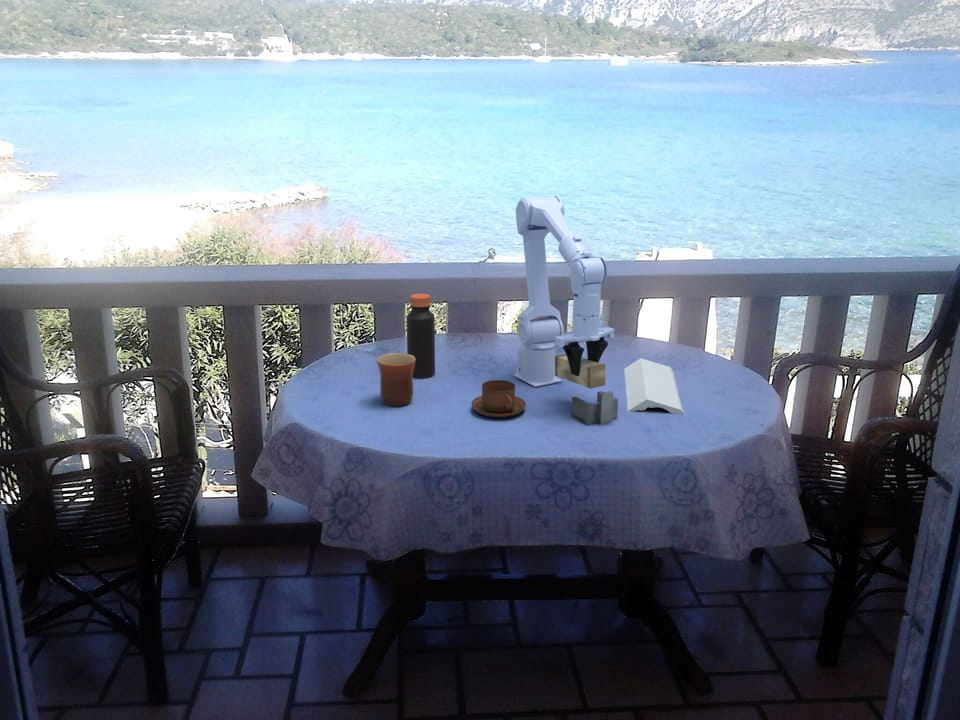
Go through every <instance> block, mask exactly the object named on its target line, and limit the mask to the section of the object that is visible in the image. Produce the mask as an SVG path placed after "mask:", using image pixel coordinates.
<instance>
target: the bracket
mask: <svg viewBox="0 0 960 720" xmlns="http://www.w3.org/2000/svg"><path fill="white" fill-rule="evenodd" d="M618 408H619V399H618V398H617V397H614V392H613V391H610V390H608V391H603V390H599V391H597V395H596V402H591V403H589V402H587V401H586V400H583V399H581V398H579V397H578V396H572V397H571V410H570V417H572V418H574V419H576V420H577V421H578V422H579V421H580V422H581V423H583V424H585V425H587V426H591V425H595V424H598V425H600V426H601V425H605V424H606V425H607V424H609V423H612V421H613V420H616V419H618V411H619V409H618Z"/></svg>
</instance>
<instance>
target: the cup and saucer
mask: <svg viewBox="0 0 960 720" xmlns="http://www.w3.org/2000/svg"><path fill="white" fill-rule="evenodd" d="M481 392H482V393H481V395H480V396H477V397H475V398H474V399H472V401H471V407H472V409H473V410H474V411H475V412H477V413H478V414H480V415H483V416H486V417H490V418H491V417H492V418H507V417H512V416H515V415H519V414H520V413H521V412H522V411H524V410H525V408H526V401H525V400H524V399H522V398H520V397H518V396H516V384H515V383H514V382H512V381H509V380H504V379H492V380H491V379H490V380H487V381H484V382H483V383H482V384H481Z"/></svg>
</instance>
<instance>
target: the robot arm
mask: <svg viewBox="0 0 960 720" xmlns="http://www.w3.org/2000/svg"><path fill="white" fill-rule="evenodd" d="M515 220H516V229H517V234H518V235H520V236H522V241H523V250H524V251H523V252H524V262H525V263H524V265H525V274H526V286H527V297H528V298H527V299H528V306H527V307H526V308H525V309H524V310H522V312H520V314H519V315H518V326H517V335H518V339H519V341H520V345H519V347H518V349H517V361H516V363H517V364H516V373H514V374H513V376H514V377H516V378H517V379H519V380H521V381H523V382H525V383H526V384H529V385H530V386H533V387H534V388H537V387H542V386H546V385H551V384H556V383H561V382H562V378H560V377H558V376H555V356H556V347H559V348H562V349H563V351H564V354H566V356H567V358H568V361H569V365H570V370H571V374H573V375H575V376H579V373H580V363H581V358H583V357H582V356H583V353H584V352H585V351H584V350H585V348H584V347H582V346H581V345H580V344H579V343H584V342H585V345H586V350H587V351H586V354H587V355H586V356H587V357H586V359H588V360H591V361H594V362H597V363H600V361H601V358H602V355H603V353H604V352H605V351H606V349H607V348H608V346H609V342H608V341H607V340H605V339H607V338H609V339H613V338H615V329H614V328H611V327H610V326H607V327H600V316H601V315H600V314H601V313H600V312H601V311H600V309H601V294H602V284H604V283H605V282H606V280H607V278H608V266H607V263H606V260H605V259H604V257H603V256H599V255H597V254H593V252H592V251H591V249H590V248H589V247H588V245H587V243H586V242H585V241H584V239H583V238H582V237H581V235H579V234H576V233H575V234H574V233H573V231H572V229H571V227H570V226H569V225H570V224H568V221H567V219H566V217H565V204H564V202H563V200H562V199H561V197H560V196H558V195H554V196H545V197H528V198H527V197H521V198H520V199H519V200H518V202H517V205H516V208H515ZM550 233H551V234H552V236H553V237H554V238H555V239H556V241H557V242H558V247H557V248H558V252H559V254H560V256H561V257H562V258H563V260H564V261H565V263H566V265H567V266H568V268H569V270H568V272H569V273H568V274H569V280H570V283H571V287H570V290H571V292H572V293H573V304H572V326H571V328H572V329H571V331H568V332H566V333H565V330H564V329H565V328H564V324H563V321H562V318H561V313H560V310H559V309H557V308H556V307H554V306H553V305H552V304H551V299H550V291H549V290H550V289H549V277H548V276H549V275H548V264H547V255H546V253H547V252H546V245H545V244H546V243H545V238H546V236H547V235H548V234H550ZM541 317H543V318H541Z"/></svg>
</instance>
